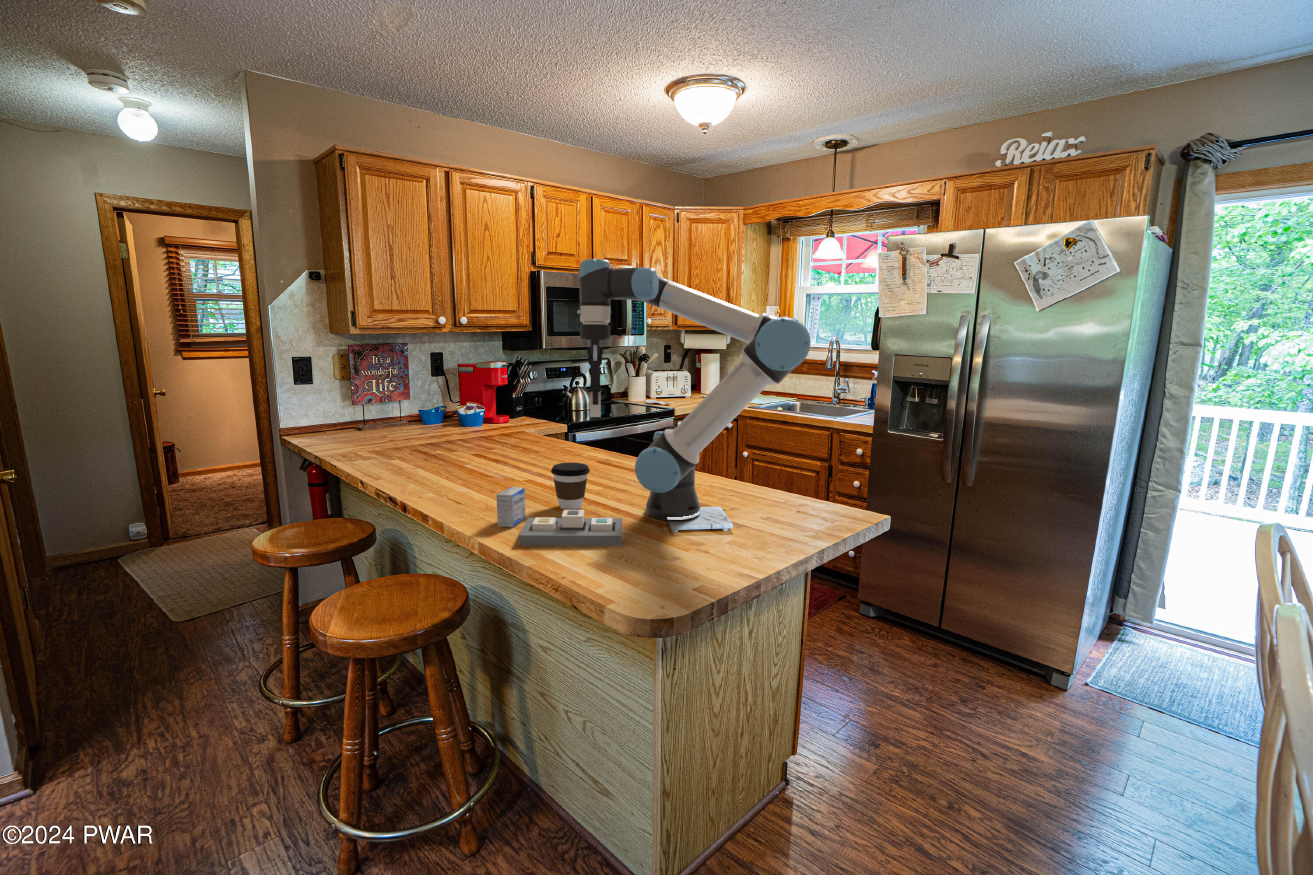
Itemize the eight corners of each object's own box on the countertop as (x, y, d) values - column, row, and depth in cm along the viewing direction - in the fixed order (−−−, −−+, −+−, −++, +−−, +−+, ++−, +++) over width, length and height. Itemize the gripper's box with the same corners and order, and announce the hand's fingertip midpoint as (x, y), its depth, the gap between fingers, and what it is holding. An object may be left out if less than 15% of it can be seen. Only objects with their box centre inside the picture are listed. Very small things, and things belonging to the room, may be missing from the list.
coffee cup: (597, 505, 171) (597, 465, 169) (572, 515, 162) (572, 472, 160) (568, 499, 177) (568, 460, 175) (543, 508, 168) (542, 467, 166)
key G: (556, 528, 148) (555, 516, 147) (553, 535, 143) (553, 523, 142) (535, 528, 147) (535, 516, 147) (532, 535, 143) (532, 523, 142)
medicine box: (513, 528, 151) (512, 495, 149) (497, 526, 152) (496, 494, 150) (526, 518, 159) (525, 487, 157) (510, 517, 159) (509, 486, 158)
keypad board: (622, 527, 153) (622, 518, 152) (621, 546, 140) (621, 535, 139) (528, 527, 152) (528, 517, 151) (519, 545, 139) (518, 535, 138)
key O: (612, 528, 148) (612, 516, 148) (611, 535, 143) (611, 523, 143) (592, 528, 148) (592, 516, 148) (590, 535, 143) (590, 523, 143)
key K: (584, 520, 148) (584, 509, 147) (582, 527, 143) (582, 515, 142) (564, 520, 147) (563, 509, 147) (561, 527, 143) (561, 515, 142)
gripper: (580, 323, 155) (581, 413, 159) (579, 323, 142) (580, 420, 146) (609, 324, 155) (609, 413, 160) (610, 323, 143) (610, 420, 147)
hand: (595, 416), depth 153 cm, fingers closed
